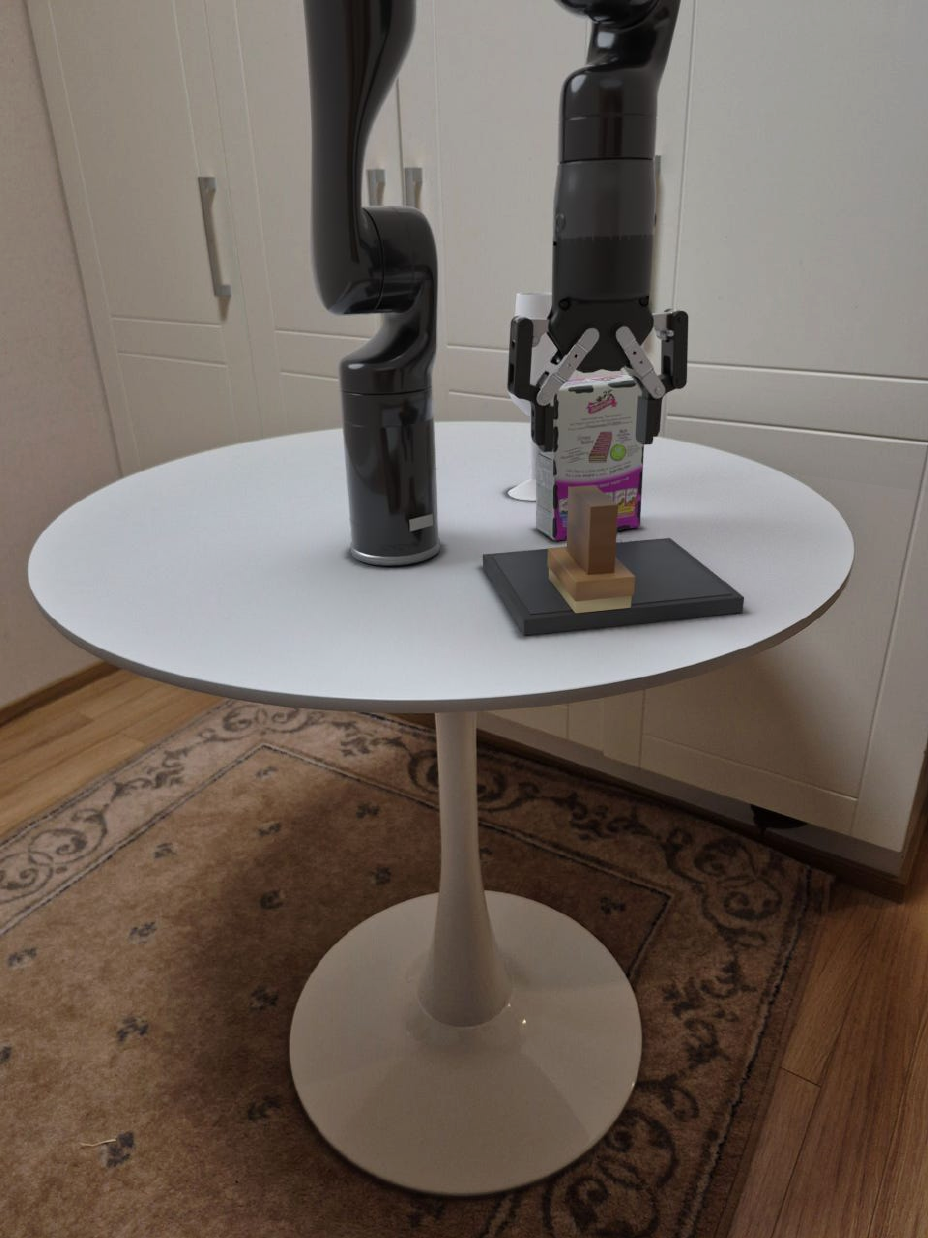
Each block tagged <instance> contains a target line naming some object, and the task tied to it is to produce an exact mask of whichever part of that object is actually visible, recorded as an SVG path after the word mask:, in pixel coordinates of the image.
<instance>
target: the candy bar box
mask: <svg viewBox="0 0 928 1238" xmlns="http://www.w3.org/2000/svg"><path fill="white" fill-rule="evenodd" d="M640 395H642V392H641V390H640V389H639V387H638V386H637V384H636V383H635V381H634V380H633V378H632V377H631V376H630V374H617V375H606V376H596V377H587V378H586V377H585V378H577V379H569V380H568V381H567V382H566V383H564V384H563V385H562V386H561V387H560V389H559V390H558V392H557V393H556V394H555V396H554V397H553V399H552V400H551V402H550V404H551V405H552V406H554V425H553V451H552V452H542V451H541V450H540V449H539V448H538V445H536V501H535V515H536V516H535V527H536V530H537V531H538V532H539V533H541V534H543V535H545V536H546V537H548V538H549V539H551V540H552V541H554V542H557V541H558V542H559V541H565V540H567V517H568V487H575V486H588V485H595V486H596V487H597V488H599V489H600V490H601V491H602V492H603V493H605V494H606V495H607V496H608V497H609V498H611V499H612V500H613V501H614V502H616V503H617V504H618V519H617V531H622V530H628V529H633V528H634V529H635V528H638V527H640V526H641V517H642V516H641V513H642V494H643V477H644V476H643V474H644V472H643V471H644V454H645V452H644V451H645V445H643V444H641V443H639V442H637V440H636V418H637V401H638V396H640Z"/></svg>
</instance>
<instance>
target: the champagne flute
mask: <svg viewBox="0 0 928 1238" xmlns="http://www.w3.org/2000/svg"><path fill="white" fill-rule="evenodd" d="M551 306H552V291H530V292H527V291H526V292H518V293H516V299H515V309H514V317H515V316H523V317H526V318H537V319H547V317H548V315H549V313H550V310H551ZM555 349H556V347H555V345H554V344H553V342H552V341H551V339H550V338H549V336H548V335H547V333H544V334H543V335H542V336H541V338H540V342H539V344H538V345H537V346H536V347H532V359H531V375H530V384H534V383H535V381H536V380H537V378H538V377H539V375H540V374H541V373H542V371H543V367H544V365H545V364H546V362H547V361H548V359H549V358H550V356H551V355H552V354H553V352H554V351H555ZM557 361H558V360H557ZM507 391H508V390H507ZM508 395H509V396H510V399H511V400H512V401H513V403H514V405H515V406H516V407H517V408H519V410H521V412H523V413H524V415H526V416H528V417H529V420H530V421H529V428H530V429H529V477H528V479H526V480H524V481H523V482H521V483H519V484H518V485H516V486H515V487H513V488H511V489H510V490H508V492H507V494H508V496H509V497H511V498H514V499H516V500H521V501H531V502H536V444H535V443H534V442H533V440H532V438H531V404H530V402H529V401H527V400H524V399H519V398H517V397H516V396H515V395H513V394H511V393H510V392H509V391H508Z"/></svg>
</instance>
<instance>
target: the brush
mask: <svg viewBox="0 0 928 1238" xmlns="http://www.w3.org/2000/svg"><path fill="white" fill-rule="evenodd" d="M617 519H618V504H617V503H616V502H614V501H613V500H612V499H611V498H609V497H608V496H607V495H606V494H605V493H603V492H602V491H601V490H600V489H599V488H597V487H596V486H595V485H588V486H575V487H568V517H567V539H566V546H558V547H548V548H547V549H548V560H547V566H548V567H549V580H550V581H551V582H552V584H553V585H554V586H555V587H556V589H557V590H558V591H559V593H560V594H561V595H562V597H563V598H564V599H565V600H566V602H567V603H568V604H569V606H570V607H571V608H572V610H573V611H574V612H575V613H584V612H594V611H604V610H614V609H623V608H631V599H632V596H634V586H635V576H634V575H633V574H632V573H631V572H630V571H629V570H628V569H627V568H626V567H625V566H624V565H623V564H622V563H621V562H620V561H619V560H618V559H617V558H616V557H615V553H616V543H617V534H618V530H617Z"/></svg>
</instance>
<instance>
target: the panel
mask: <svg viewBox="0 0 928 1238" xmlns="http://www.w3.org/2000/svg"><path fill="white" fill-rule="evenodd" d="M615 557H616V558H617V559H618V560H619V561H620V562H621V563H622V564H623V565H624V566H625V567H626V568H627V569H628V570H629V571H630V572H631V573H632V574H633V575H634V576H635V586H634V596H632V599H631V608H623V609H614V610H604V611H594V612H584V613H575V612H574V611H573V610H572V608H571V607H570V606H569V604H568V603H567V602H566V600H565V599H564V598H563V597H562V595H561V594H560V593H559V591H558V590H557V589H556V587H555V586H554V585H553V584H552V582H551V581H550V580H549V567H548V566H547V560H548V548H541V549H530V550H518V551H508V552H506V551H505V552H496V553H486V554H484V553H483V554H482V569H483V571H484V572H485V574H486V576H487V577H488V579H489V580H490V582H491V584H492V585H493V587H494V589H495V590H496V592H497V594H498V596H499V597H500V599H501V601H502V602H503V604H504V605H505V607H506V609H507V611H508V613H509V614H510V615H511V617H512V619H513V620H514V622H515V624H516V626H517V627H518V629H519V630H520V632H521V634H522V635H523V636H525V637H526V636H534V635H544V634H553V633H562V632H571V631H582V630H590V629H591V630H592V629H600V628H609V627H618V626H627V625H628V626H629V625H637V624H647V623H656V622H665V621H675V620H684V619H685V620H686V619H694V618H702V617H711V616H712V617H713V616H721V615H731V614H741V613H743V610H744V604H745V603H744V602H745V596H744V595H742V594H741V593H740V592H739V591H737V589H735V588H734V587H732V586H731V585H730V584H728V582H726V581H725V580H723V579H722V578H721V577H720V576H719V575H717V574H716V573H715V572H713V571H712V570H711V569H710V568H708V567H707V566H706V565H705V564H703V563H702V562H701V561H699V560H698V559H697V558H696V557H694V555H692V554H691V553H689V552H688V551H687V550H686V549H685V548H683V547H682V546H681V545H679V544H678V542H676V541H675V540H673V538H671V537H664V538H652V539H641V540H632V541H631V540H629V541H619V542H618V541H617V542H616V553H615Z"/></svg>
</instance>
